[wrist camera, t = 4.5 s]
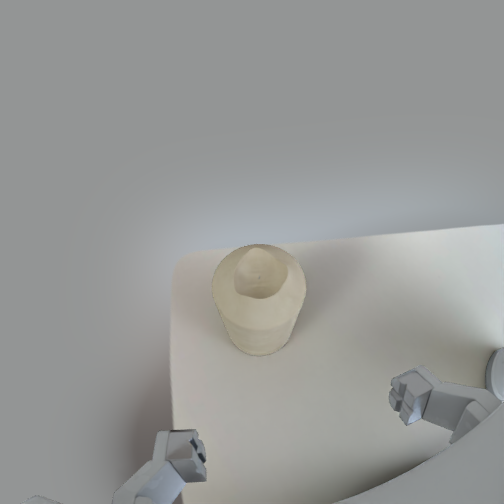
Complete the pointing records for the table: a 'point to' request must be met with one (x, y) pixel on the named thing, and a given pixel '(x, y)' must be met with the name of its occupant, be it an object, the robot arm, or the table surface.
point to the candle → (259, 297)
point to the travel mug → (496, 374)
